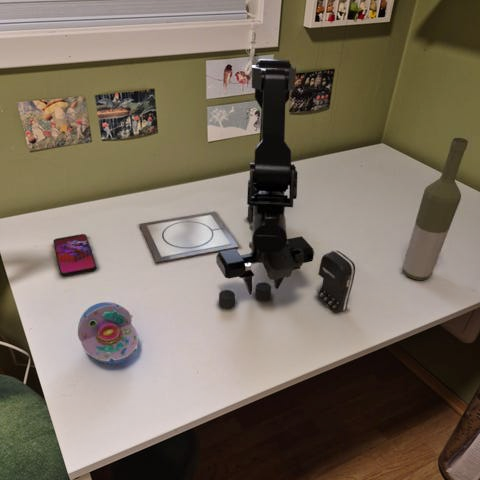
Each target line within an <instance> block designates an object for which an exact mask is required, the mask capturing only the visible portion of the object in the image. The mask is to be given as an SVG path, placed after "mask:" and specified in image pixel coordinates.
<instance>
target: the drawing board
mask: <svg viewBox="0 0 480 480" xmlns="http://www.w3.org/2000/svg"><path fill="white" fill-rule="evenodd" d="M139 227H140V229H141V231H142V233H143V236H144V238H145V240H146V243H147V245H148V247H149V249H150V251H151V253H152V256H153V259H154V260H155V263H156V264H161V263H166V262H170V261H176V260H181V259H187V258H192V257H197V256H203V255H209V254H214V253H219V252H221V251H226V250H231V249H239V248H240V246H239V245H238V243H237V241H236V240H235V238H234V237H233V236H232V234H231V233H230V232H229V230H228V229H227V227H226V226H225V224H224V223H223V222H222V221H221V219H220V217H219V215H217V213H216V211H211V212H206V213H205V212H204V213H198V214H193V215H187V216H179V217H174V218H167V219H161V220H155V221H149V222H143V223H139Z"/></svg>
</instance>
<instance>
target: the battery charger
mask: <svg viewBox="0 0 480 480" xmlns="http://www.w3.org/2000/svg"><path fill="white" fill-rule="evenodd" d="M318 275H319V277H321V278H322V284H321V286H320V288H319V291H318V294H317V299H318V300H319V301H320V302H321V303H322V304H323V305H325V306H326V307H327V308H328V309H329V310H330V311H332V312H334V313H340V312H342V311H345V310H347V307H348V303H349V299H350V295H351V291H352V288H353V284H354V279H355V275H356V265H355V263H354V261H353V260H352V259H350V258H349V257H348V256H346V254H344V253H342V252H341V251H339V250H331V251H330V252H327V253H324V254H323V256H322V257H321V259H320V263H319V268H318Z"/></svg>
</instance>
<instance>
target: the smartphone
mask: <svg viewBox="0 0 480 480" xmlns="http://www.w3.org/2000/svg"><path fill="white" fill-rule="evenodd" d="M88 239H89V238H88V236H87V234H85V233H81V234H80V233H79V234H74V235H69V236H68V235H67V236H63V237H57V238H55V239H53V247H54V252H55V256H56V259H57V264H58V268H59V274H60V276H62V277H68V276H72V275H77V274H82V273H88V272H91V271H92V272H93V271H95V270H96V269H97V265H96V262H95V261H96V260H95V258H94V255H93V251H92V249H91V245H90V242H89V240H88Z"/></svg>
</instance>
